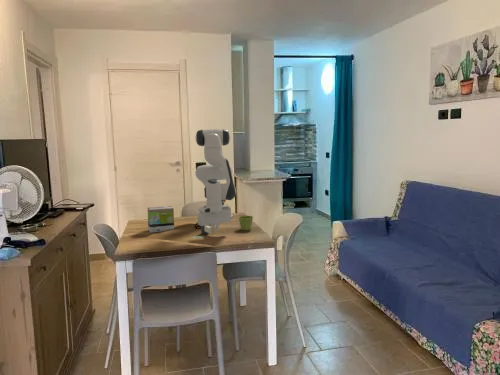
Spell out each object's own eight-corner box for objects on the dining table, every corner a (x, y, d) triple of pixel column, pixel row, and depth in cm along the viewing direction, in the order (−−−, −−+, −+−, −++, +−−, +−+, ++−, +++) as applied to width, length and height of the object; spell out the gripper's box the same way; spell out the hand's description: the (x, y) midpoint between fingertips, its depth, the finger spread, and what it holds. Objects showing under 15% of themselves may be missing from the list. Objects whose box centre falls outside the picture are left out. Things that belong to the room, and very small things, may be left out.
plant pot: (236, 229, 250) (236, 216, 249) (251, 228, 253) (250, 215, 252) (240, 233, 242) (240, 219, 241) (255, 231, 244) (255, 217, 243)
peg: (199, 233, 238) (199, 225, 238) (207, 232, 241) (206, 224, 240) (210, 238, 226) (209, 229, 225) (217, 237, 228) (217, 228, 227)
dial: (199, 229, 254) (199, 227, 254) (233, 232, 243) (233, 230, 243) (175, 238, 232) (175, 236, 232) (211, 242, 221) (211, 240, 221)
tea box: (150, 233, 247) (149, 209, 245) (148, 230, 256) (146, 207, 254) (174, 230, 252) (173, 207, 251) (171, 227, 262) (170, 205, 260)
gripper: (227, 205, 237) (228, 227, 239) (195, 208, 227) (196, 232, 229) (232, 206, 232) (233, 229, 234) (200, 210, 222) (201, 234, 223)
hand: (215, 231), depth 231 cm, fingers closed
